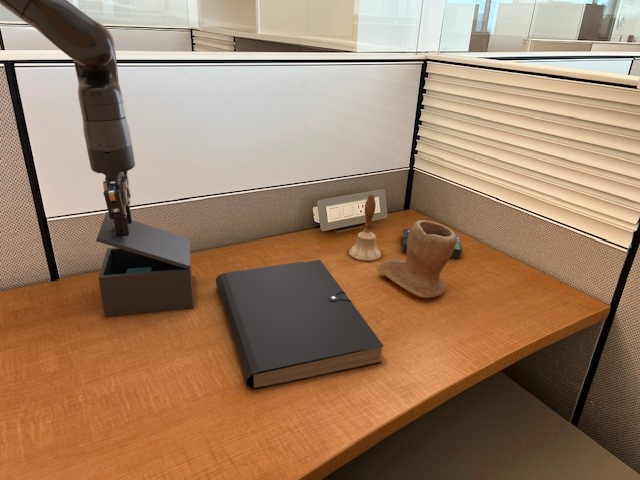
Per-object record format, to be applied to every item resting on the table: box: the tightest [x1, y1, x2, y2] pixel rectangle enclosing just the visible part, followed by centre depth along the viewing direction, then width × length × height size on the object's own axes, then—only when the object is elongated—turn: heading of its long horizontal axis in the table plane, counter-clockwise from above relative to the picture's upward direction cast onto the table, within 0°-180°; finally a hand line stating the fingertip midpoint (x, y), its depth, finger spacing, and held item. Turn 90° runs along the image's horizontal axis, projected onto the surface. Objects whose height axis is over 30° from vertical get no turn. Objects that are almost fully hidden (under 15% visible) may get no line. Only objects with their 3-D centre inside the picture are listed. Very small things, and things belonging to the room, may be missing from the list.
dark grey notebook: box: [215, 259, 384, 390], centre depth 93 cm, size 33×4×24 cm
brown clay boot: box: [376, 219, 457, 299], centre depth 106 cm, size 15×12×15 cm
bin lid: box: [95, 208, 192, 269], centre depth 94 cm, size 17×13×5 cm
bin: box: [97, 247, 194, 318], centre depth 99 cm, size 17×13×9 cm
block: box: [127, 267, 152, 273], centre depth 99 cm, size 5×5×5 cm
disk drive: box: [402, 228, 463, 259], centre depth 127 cm, size 10×3×15 cm
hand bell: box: [348, 194, 382, 262], centre depth 119 cm, size 8×8×16 cm
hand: (124, 229), depth 93 cm, fingers closed on bin lid, 5 cm apart
